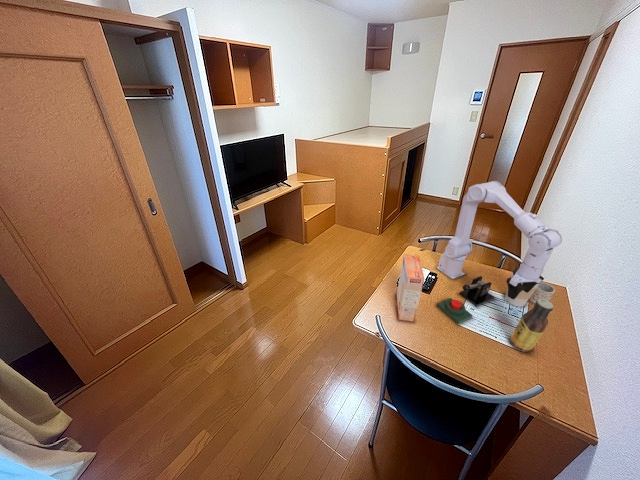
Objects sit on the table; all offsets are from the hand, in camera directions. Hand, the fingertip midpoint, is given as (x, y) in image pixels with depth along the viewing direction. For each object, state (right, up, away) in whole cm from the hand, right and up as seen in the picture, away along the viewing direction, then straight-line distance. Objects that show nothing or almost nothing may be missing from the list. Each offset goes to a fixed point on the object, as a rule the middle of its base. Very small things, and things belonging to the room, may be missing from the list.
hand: (517, 294), depth 93 cm
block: (-20, -8, +7) cm, 22 cm away
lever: (-11, 0, +9) cm, 14 cm away
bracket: (-7, -4, +13) cm, 16 cm away
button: (-20, -6, +5) cm, 21 cm away
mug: (+15, -4, +12) cm, 20 cm away
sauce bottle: (-4, -16, -6) cm, 18 cm away
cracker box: (-37, -7, +9) cm, 39 cm away
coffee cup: (+7, -5, +11) cm, 14 cm away
